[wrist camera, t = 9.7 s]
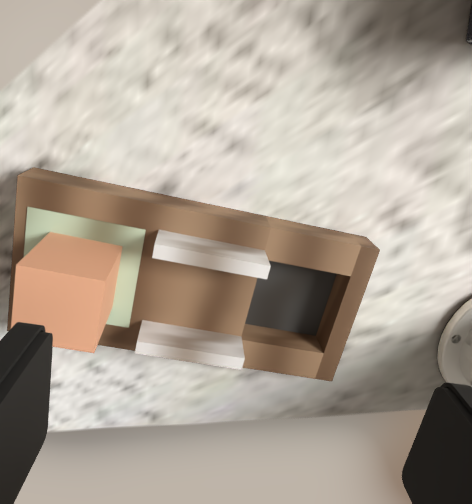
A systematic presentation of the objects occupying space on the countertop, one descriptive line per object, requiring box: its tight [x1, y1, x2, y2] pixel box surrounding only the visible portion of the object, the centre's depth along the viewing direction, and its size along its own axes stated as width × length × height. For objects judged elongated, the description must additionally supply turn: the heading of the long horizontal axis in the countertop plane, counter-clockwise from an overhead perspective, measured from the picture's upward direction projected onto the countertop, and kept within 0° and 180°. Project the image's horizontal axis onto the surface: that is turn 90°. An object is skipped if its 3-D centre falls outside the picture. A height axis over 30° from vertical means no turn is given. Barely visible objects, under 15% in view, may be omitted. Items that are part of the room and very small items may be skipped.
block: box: [11, 232, 123, 353], centre depth 29 cm, size 5×5×6 cm
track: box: [7, 168, 380, 381], centre depth 33 cm, size 26×12×6 cm, turn 77°
